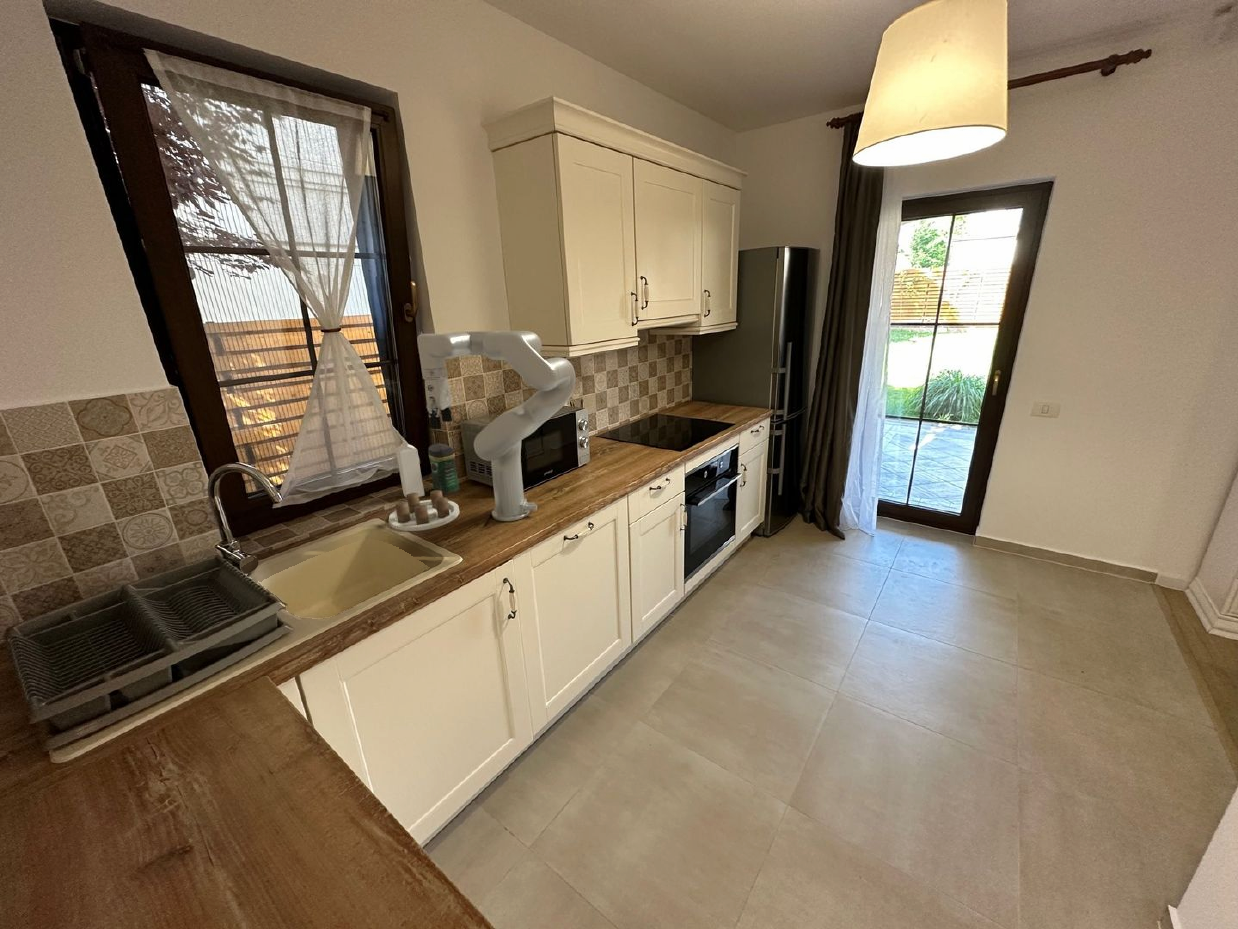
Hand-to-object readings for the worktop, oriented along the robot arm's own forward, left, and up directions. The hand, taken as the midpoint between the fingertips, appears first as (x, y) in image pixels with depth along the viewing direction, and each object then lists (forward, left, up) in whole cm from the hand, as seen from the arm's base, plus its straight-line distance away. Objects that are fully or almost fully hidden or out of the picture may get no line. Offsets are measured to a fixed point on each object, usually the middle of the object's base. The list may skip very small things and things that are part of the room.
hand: (442, 424), depth 161 cm
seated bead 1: (+11, +5, -29) cm, 32 cm away
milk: (+18, -9, -30) cm, 36 cm away
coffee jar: (+8, -15, -30) cm, 34 cm away
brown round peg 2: (+4, +15, -29) cm, 33 cm away
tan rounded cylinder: (0, +9, -29) cm, 30 cm away
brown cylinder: (+4, +3, -29) cm, 29 cm away
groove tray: (+6, +9, -30) cm, 32 cm away
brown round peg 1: (+11, +13, -29) cm, 34 cm away
